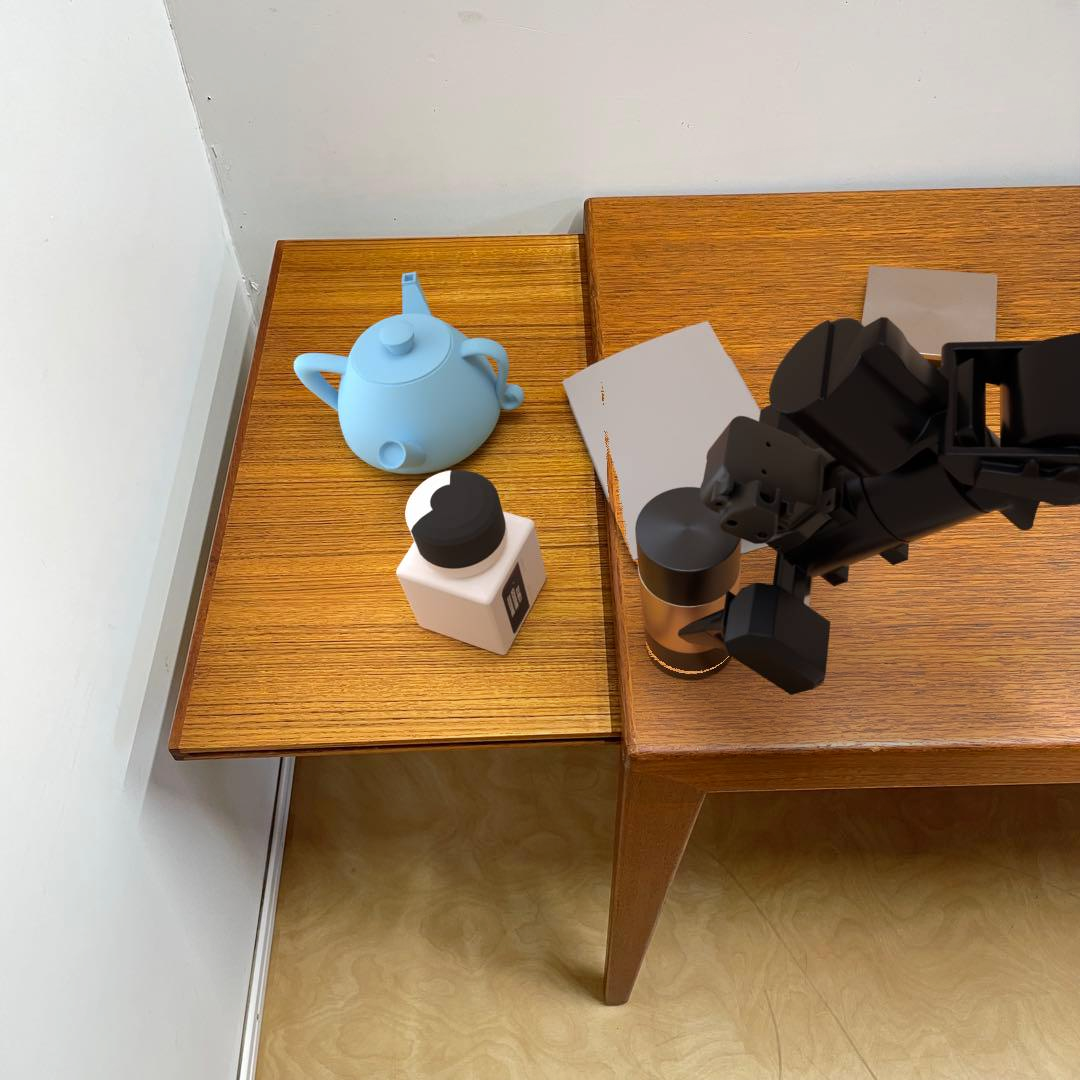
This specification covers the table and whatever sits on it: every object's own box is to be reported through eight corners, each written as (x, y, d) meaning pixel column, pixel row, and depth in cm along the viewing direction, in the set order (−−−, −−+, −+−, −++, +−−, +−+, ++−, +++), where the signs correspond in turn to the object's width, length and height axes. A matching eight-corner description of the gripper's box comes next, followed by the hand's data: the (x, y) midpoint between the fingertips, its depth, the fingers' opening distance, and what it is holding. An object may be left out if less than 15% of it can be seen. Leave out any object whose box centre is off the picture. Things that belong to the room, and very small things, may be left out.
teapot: (297, 450, 90) (253, 359, 81) (429, 339, 96) (402, 244, 87) (414, 529, 82) (380, 439, 74) (548, 403, 89) (532, 307, 80)
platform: (989, 377, 84) (995, 360, 82) (855, 364, 87) (858, 348, 85) (992, 291, 90) (997, 274, 88) (866, 282, 93) (869, 265, 91)
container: (548, 577, 78) (525, 471, 67) (506, 658, 74) (473, 559, 64) (463, 550, 81) (427, 445, 70) (417, 627, 77) (372, 527, 66)
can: (754, 654, 72) (764, 541, 60) (674, 696, 70) (668, 589, 59) (705, 588, 75) (705, 470, 64) (628, 626, 74) (615, 513, 63)
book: (720, 339, 91) (720, 306, 88) (827, 528, 77) (832, 497, 74) (560, 385, 90) (555, 353, 87) (639, 584, 76) (636, 555, 73)
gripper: (811, 293, 57) (631, 409, 68) (776, 559, 46) (571, 642, 58) (931, 401, 61) (742, 493, 72) (923, 665, 51) (705, 723, 62)
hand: (693, 577), depth 66 cm, fingers open, 9 cm apart
